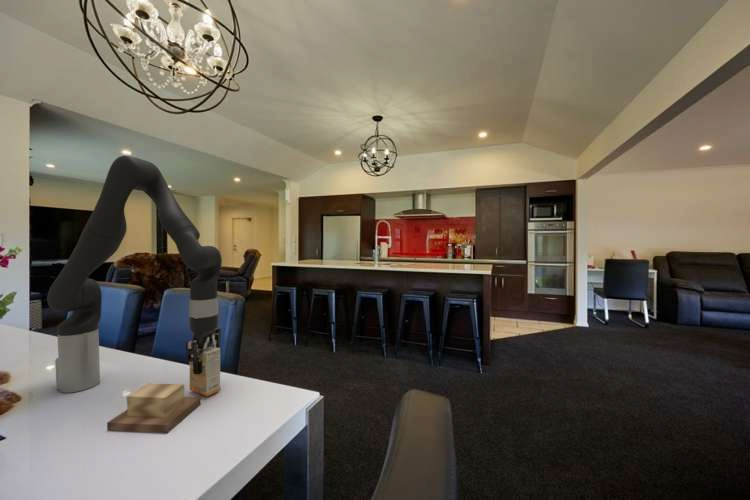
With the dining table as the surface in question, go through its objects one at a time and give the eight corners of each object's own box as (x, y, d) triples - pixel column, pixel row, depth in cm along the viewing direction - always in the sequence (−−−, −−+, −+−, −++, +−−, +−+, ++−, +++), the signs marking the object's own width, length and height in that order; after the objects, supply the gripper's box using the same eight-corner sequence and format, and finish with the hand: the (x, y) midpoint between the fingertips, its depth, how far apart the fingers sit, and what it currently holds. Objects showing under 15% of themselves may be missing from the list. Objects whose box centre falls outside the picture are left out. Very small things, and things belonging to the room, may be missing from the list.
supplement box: (188, 390, 94) (188, 347, 94) (203, 384, 99) (203, 342, 98) (206, 397, 91) (205, 352, 90) (221, 390, 95) (220, 347, 94)
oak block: (127, 415, 79) (126, 396, 78) (149, 401, 86) (148, 383, 85) (165, 417, 78) (165, 397, 78) (184, 402, 85) (184, 384, 85)
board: (107, 430, 76) (107, 422, 76) (149, 402, 89) (149, 395, 89) (167, 433, 75) (166, 425, 75) (200, 404, 88) (200, 397, 88)
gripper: (206, 307, 101) (206, 359, 102) (175, 319, 87) (176, 379, 87) (229, 308, 100) (229, 359, 101) (201, 320, 86) (202, 380, 87)
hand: (204, 368), depth 94 cm, fingers closed on supplement box, 6 cm apart
